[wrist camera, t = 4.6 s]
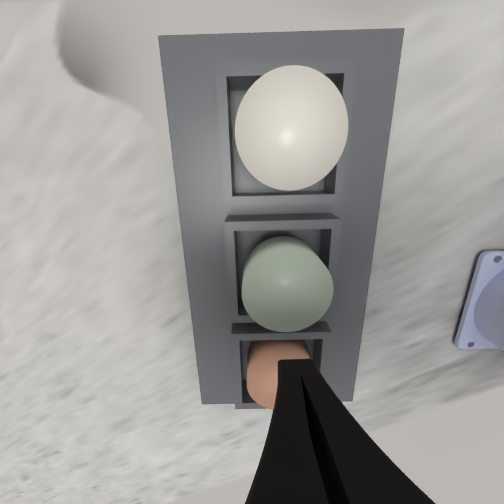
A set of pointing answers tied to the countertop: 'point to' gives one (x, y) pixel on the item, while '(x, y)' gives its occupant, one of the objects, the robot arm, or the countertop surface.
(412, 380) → the countertop surface
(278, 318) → the sage button
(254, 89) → the cream button
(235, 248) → the panel
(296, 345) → the terracotta button
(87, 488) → the countertop surface
